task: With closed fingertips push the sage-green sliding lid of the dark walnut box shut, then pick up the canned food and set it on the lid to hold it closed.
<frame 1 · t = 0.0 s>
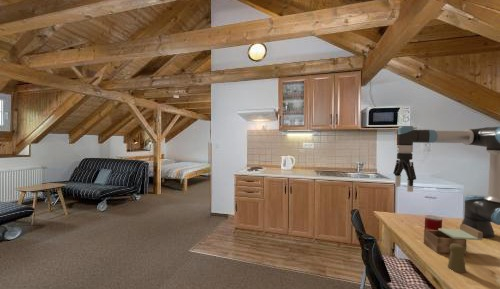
hand: (403, 188, 136), 28 cm above the table, tool pointing down, fingers open, 13 cm apart
canned food: (432, 235, 138), on the table
cork: (456, 269, 102), on the table
box: (443, 249, 121), on the table
lid: (459, 231, 120), point 10 cm above the table, slide at 7.0 cm
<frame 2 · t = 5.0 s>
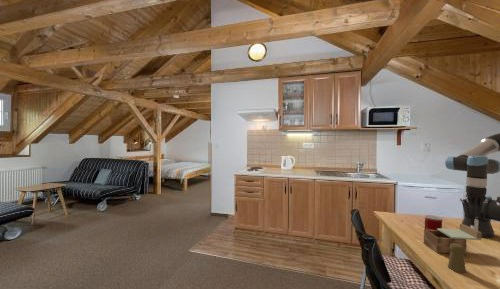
hand: (474, 231, 119), 10 cm above the table, tool pointing down, fingers closed
lid: (458, 231, 120), point 10 cm above the table, slide at 6.5 cm, touching gripper
everything else where it was.
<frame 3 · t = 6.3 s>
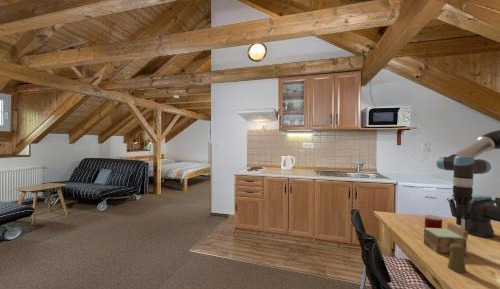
hand: (460, 231, 120), 10 cm above the table, tool pointing down, fingers closed
lid: (445, 230, 121), point 10 cm above the table, slide at 0.5 cm, touching gripper
everything else where it was.
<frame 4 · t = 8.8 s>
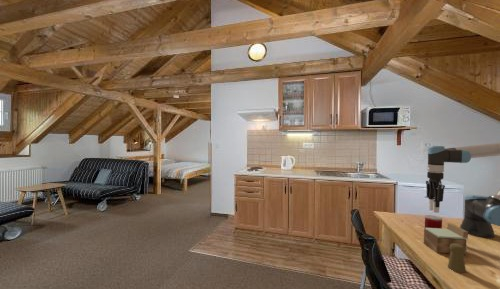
hand: (433, 211, 138), 15 cm above the table, tool pointing down, fingers open, 3 cm apart
lid: (445, 230, 121), point 10 cm above the table, slide at 0.5 cm
everything else where it was.
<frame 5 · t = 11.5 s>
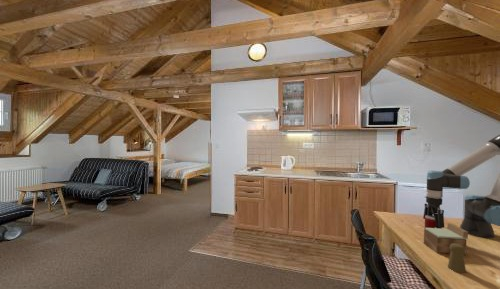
hand: (432, 234, 138), 0 cm above the table, tool pointing down, fingers closed on canned food, 8 cm apart
canned food: (432, 235, 138), on the table, touching gripper
everything else where it was.
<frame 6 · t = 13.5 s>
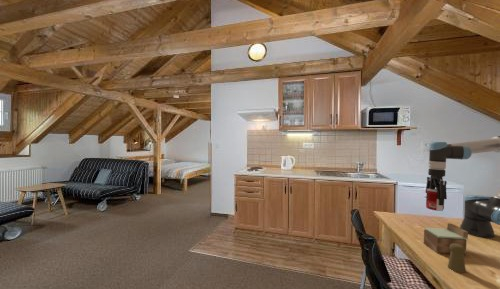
hand: (434, 208, 133), 18 cm above the table, tool pointing down, fingers closed on canned food, 8 cm apart
canned food: (434, 209, 133), point 17 cm above the table, touching gripper
everything else where it was.
when the fingers open (10 cm above the table, at t = 15.9 s): canned food drops 1 cm, resting on lid.
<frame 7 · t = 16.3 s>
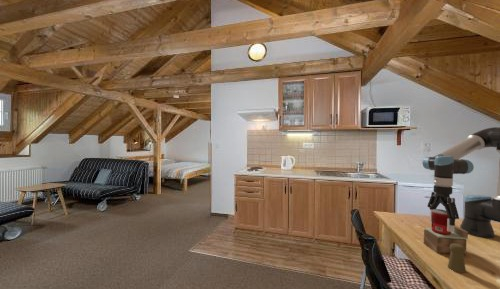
hand: (441, 226, 121), 12 cm above the table, tool pointing down, fingers open, 13 cm apart
canned food: (440, 232, 121), point 9 cm above the table, touching lid
lid: (445, 230, 121), point 10 cm above the table, slide at 0.5 cm, touching canned food
everything else where it was.
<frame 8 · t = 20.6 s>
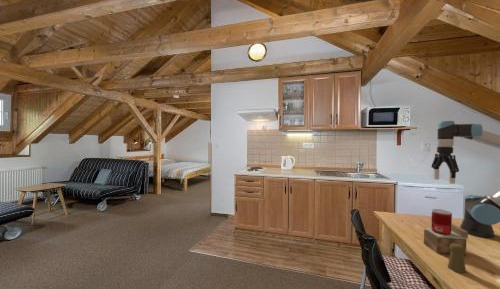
hand: (443, 181, 141), 32 cm above the table, tool pointing down, fingers open, 13 cm apart
nothing on the table moved.
at the end: lid slide at 0.5 cm; canned food 1.6 cm from the box (horizontally); canned food point 8.6 cm above the table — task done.
